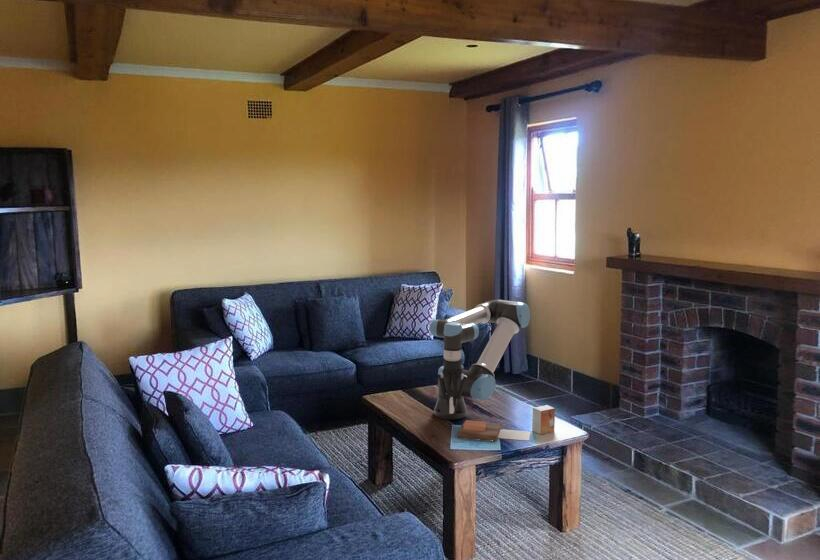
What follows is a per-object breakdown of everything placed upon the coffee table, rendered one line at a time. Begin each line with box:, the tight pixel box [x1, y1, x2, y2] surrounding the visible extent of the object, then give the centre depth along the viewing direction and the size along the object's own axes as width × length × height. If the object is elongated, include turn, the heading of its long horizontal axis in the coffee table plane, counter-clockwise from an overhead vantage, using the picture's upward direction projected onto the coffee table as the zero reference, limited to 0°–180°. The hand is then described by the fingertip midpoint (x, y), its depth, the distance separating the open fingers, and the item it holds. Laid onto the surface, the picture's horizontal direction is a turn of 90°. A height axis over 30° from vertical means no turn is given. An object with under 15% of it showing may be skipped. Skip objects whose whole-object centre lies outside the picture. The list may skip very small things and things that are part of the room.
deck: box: [457, 420, 502, 442], centre depth 283 cm, size 14×16×2 cm
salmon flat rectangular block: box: [463, 419, 488, 431], centre depth 283 cm, size 9×6×2 cm, turn 75°
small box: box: [531, 404, 556, 435], centre depth 285 cm, size 8×6×10 cm
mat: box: [497, 428, 532, 442], centre depth 281 cm, size 10×13×1 cm
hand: (451, 412), depth 285 cm, fingers closed
